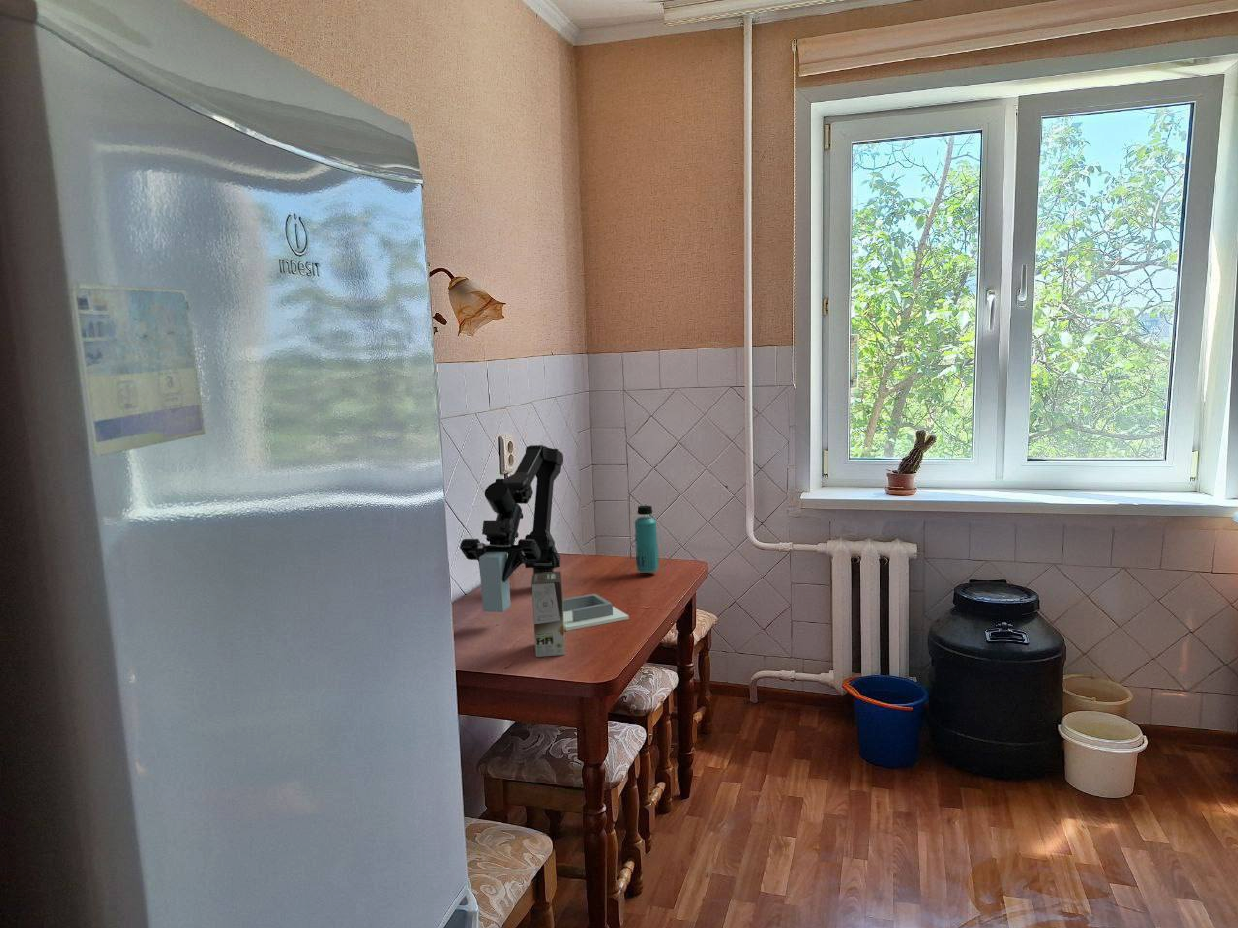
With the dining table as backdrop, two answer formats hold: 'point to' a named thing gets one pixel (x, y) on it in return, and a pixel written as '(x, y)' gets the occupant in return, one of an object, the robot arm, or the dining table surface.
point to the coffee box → (548, 614)
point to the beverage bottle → (646, 541)
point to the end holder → (589, 612)
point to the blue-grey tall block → (494, 582)
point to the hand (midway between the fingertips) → (492, 580)
